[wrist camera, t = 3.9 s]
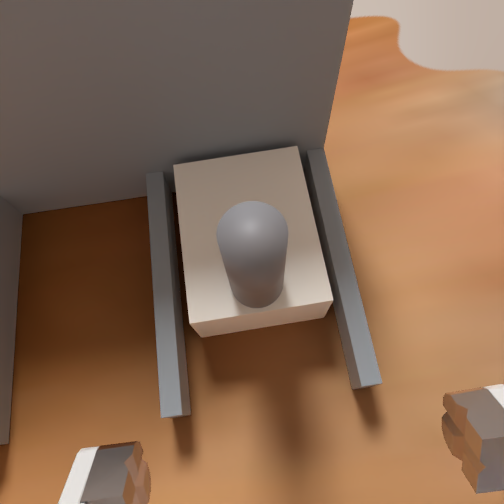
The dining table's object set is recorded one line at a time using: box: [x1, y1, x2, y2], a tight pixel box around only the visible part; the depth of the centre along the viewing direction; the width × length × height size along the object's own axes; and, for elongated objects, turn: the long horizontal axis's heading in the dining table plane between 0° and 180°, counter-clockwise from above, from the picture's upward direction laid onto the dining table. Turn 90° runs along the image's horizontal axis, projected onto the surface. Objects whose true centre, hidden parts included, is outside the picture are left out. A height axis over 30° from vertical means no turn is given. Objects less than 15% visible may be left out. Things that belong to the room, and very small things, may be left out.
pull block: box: [173, 146, 333, 338], centre depth 21 cm, size 7×9×10 cm
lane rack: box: [0, 0, 382, 445], centre depth 18 cm, size 20×15×14 cm
